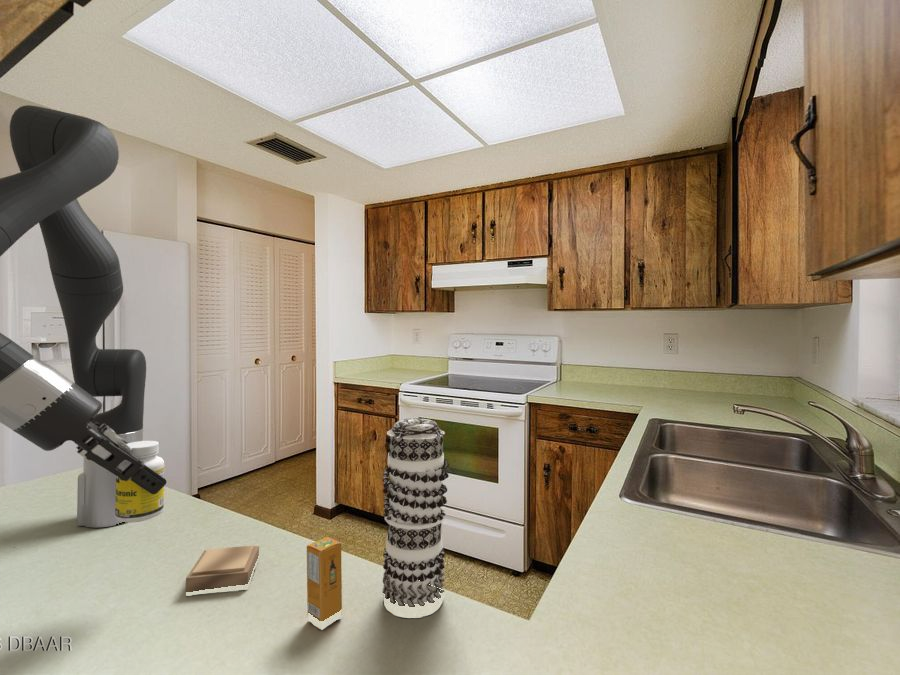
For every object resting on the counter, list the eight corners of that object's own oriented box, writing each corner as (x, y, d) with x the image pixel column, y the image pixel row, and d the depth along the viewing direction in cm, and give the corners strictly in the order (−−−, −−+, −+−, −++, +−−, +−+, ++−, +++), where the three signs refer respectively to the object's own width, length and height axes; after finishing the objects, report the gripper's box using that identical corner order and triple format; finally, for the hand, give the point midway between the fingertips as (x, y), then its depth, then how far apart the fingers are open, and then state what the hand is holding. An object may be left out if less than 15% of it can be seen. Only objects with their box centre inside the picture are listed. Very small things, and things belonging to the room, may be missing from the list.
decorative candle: (454, 614, 58) (458, 426, 58) (384, 626, 55) (388, 429, 55) (437, 577, 67) (440, 414, 67) (376, 586, 64) (379, 416, 64)
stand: (185, 596, 61) (186, 575, 61) (204, 567, 69) (204, 547, 69) (247, 590, 63) (247, 569, 63) (258, 561, 70) (259, 543, 70)
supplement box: (326, 608, 59) (328, 534, 59) (342, 619, 57) (343, 542, 57) (304, 620, 56) (306, 543, 56) (320, 632, 54) (321, 552, 54)
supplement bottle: (106, 518, 58) (107, 445, 58) (148, 505, 63) (150, 437, 63) (129, 527, 56) (131, 450, 56) (172, 512, 61) (173, 442, 61)
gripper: (73, 386, 49) (191, 472, 57) (69, 375, 60) (169, 449, 68) (5, 439, 46) (141, 523, 54) (14, 418, 56) (126, 491, 64)
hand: (156, 481), depth 61 cm, fingers closed on supplement bottle, 5 cm apart
